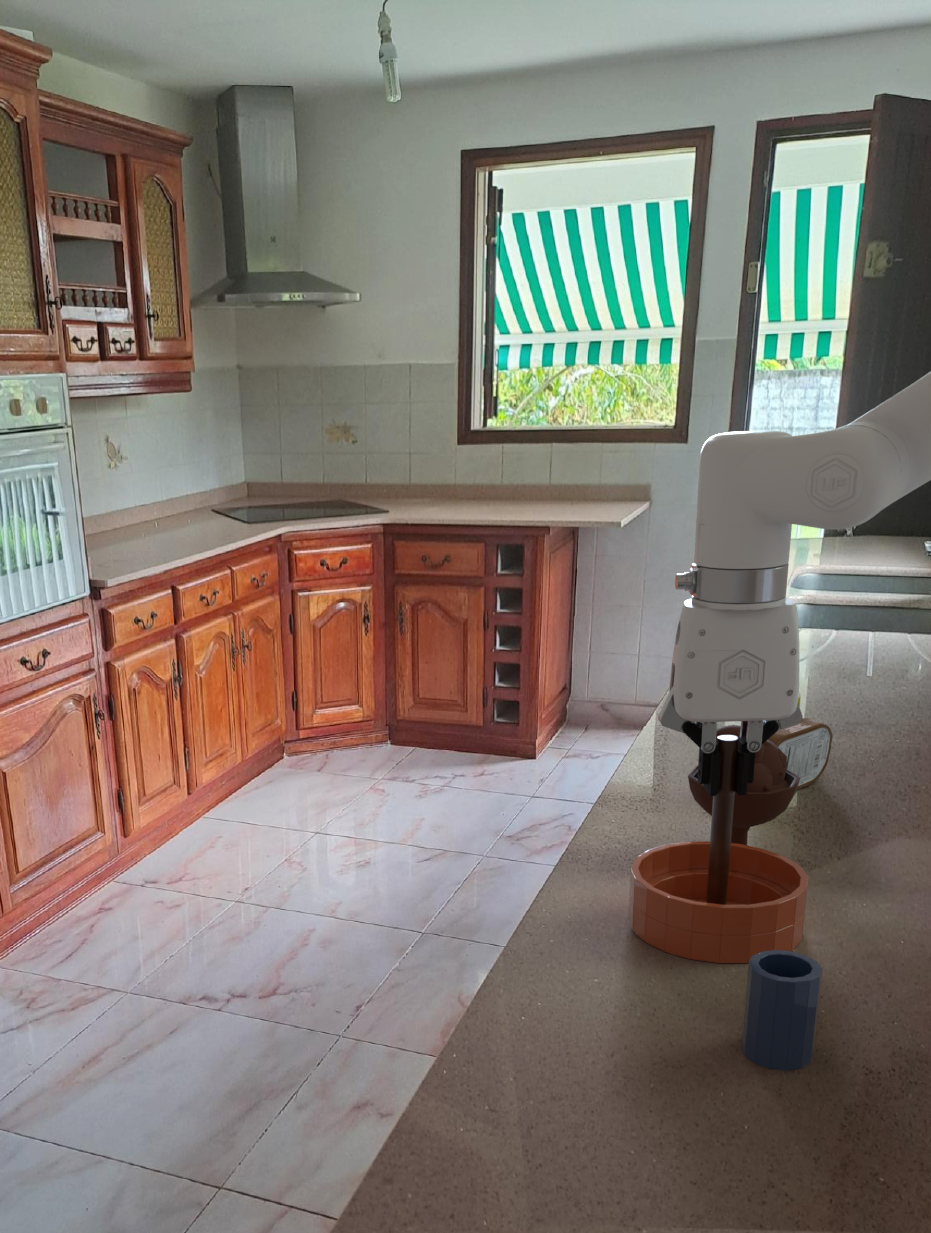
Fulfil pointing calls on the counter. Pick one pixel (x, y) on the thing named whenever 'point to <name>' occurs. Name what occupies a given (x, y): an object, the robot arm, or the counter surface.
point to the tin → (805, 749)
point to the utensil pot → (781, 1009)
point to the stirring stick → (722, 822)
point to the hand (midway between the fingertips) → (724, 789)
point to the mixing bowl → (691, 928)
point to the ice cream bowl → (754, 789)
